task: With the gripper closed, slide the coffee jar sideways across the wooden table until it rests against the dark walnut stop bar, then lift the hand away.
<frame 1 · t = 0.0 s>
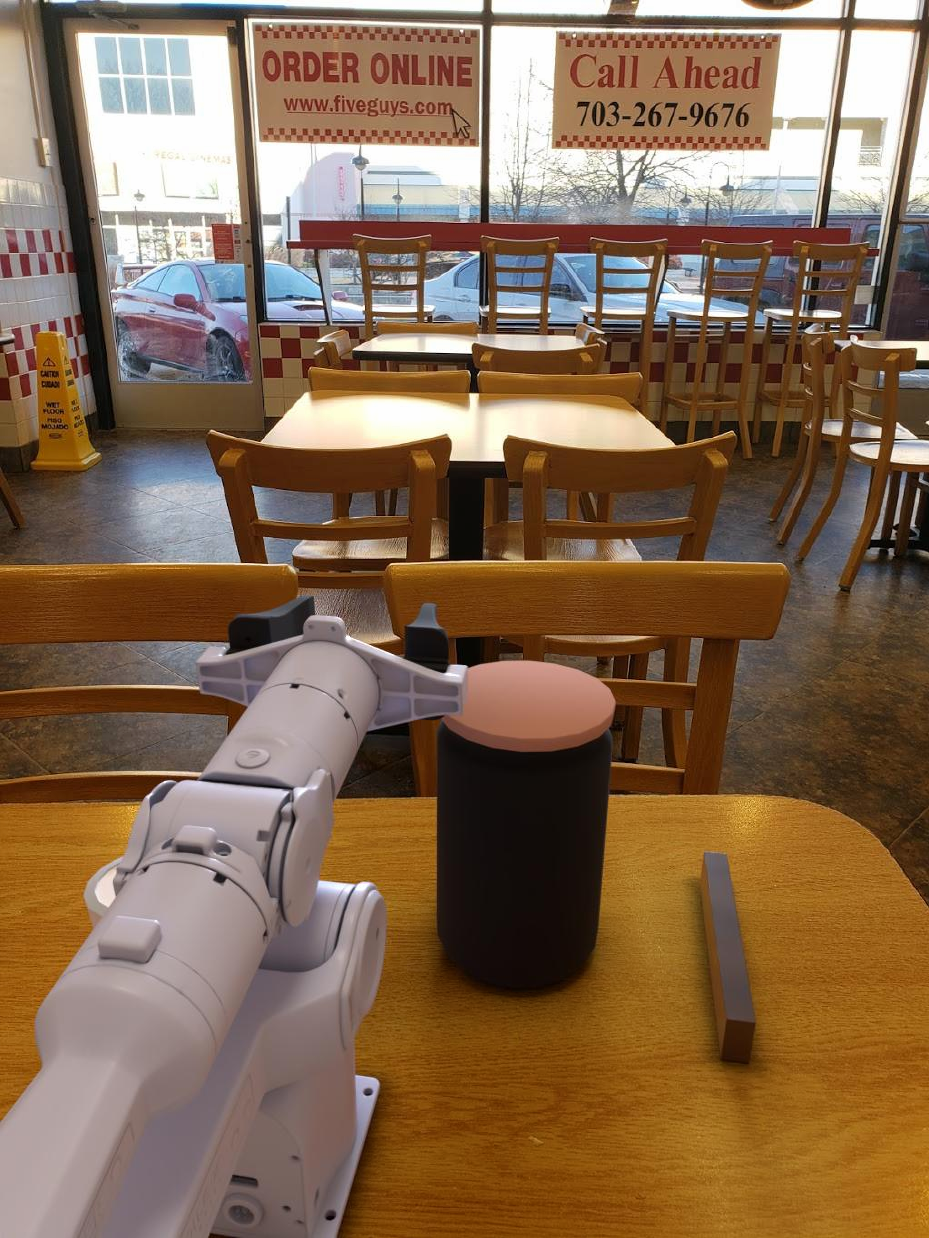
hand: (369, 613, 58), 22 cm above the table, tool horizontal, fingers open, 7 cm apart
stop bar: (721, 963, 61), on the table
coffee jar: (516, 941, 62), on the table
white cup: (156, 975, 59), on the table
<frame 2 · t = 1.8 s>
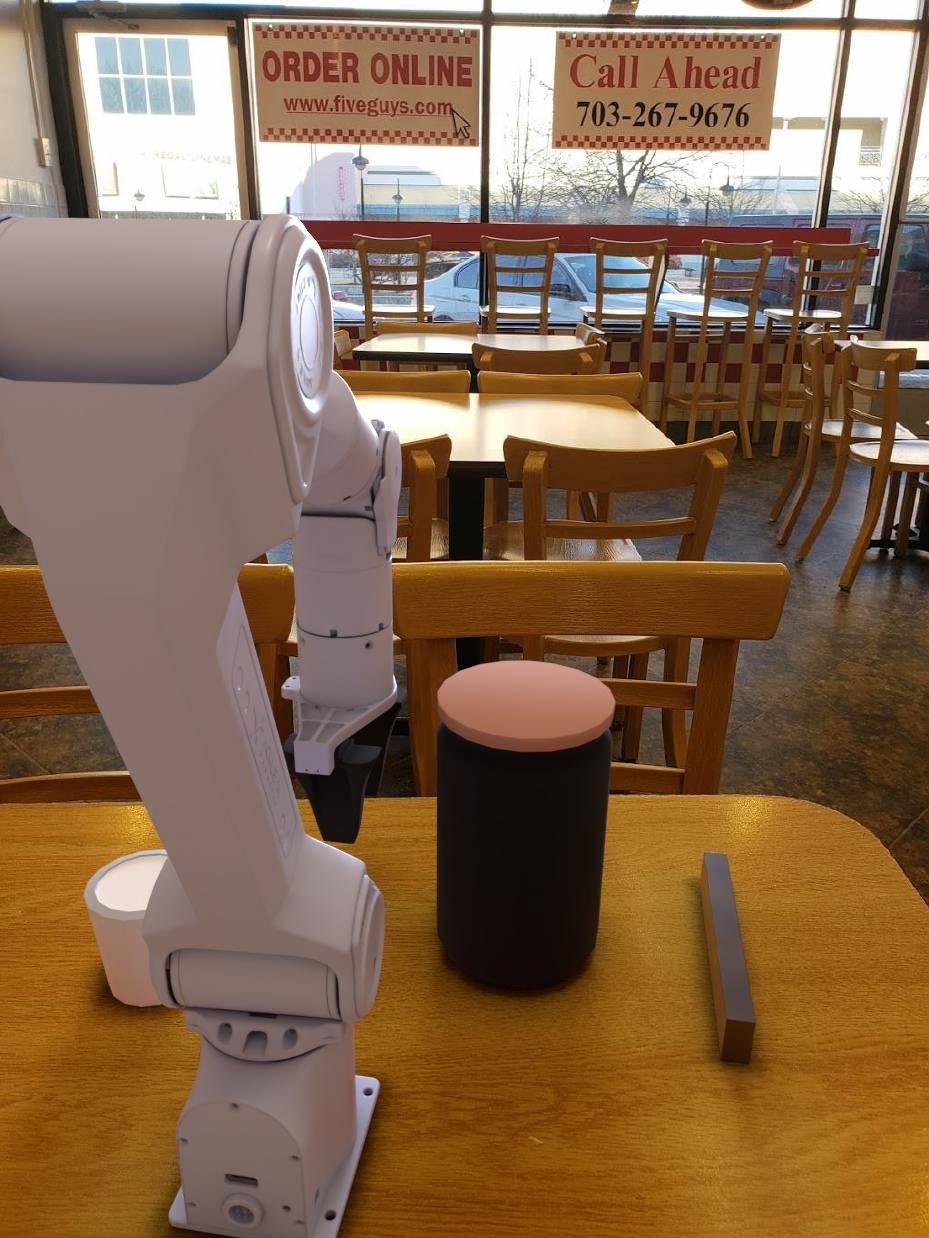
hand: (351, 815, 61), 8 cm above the table, tool pointing down, fingers open, 5 cm apart
nothing on the table moved.
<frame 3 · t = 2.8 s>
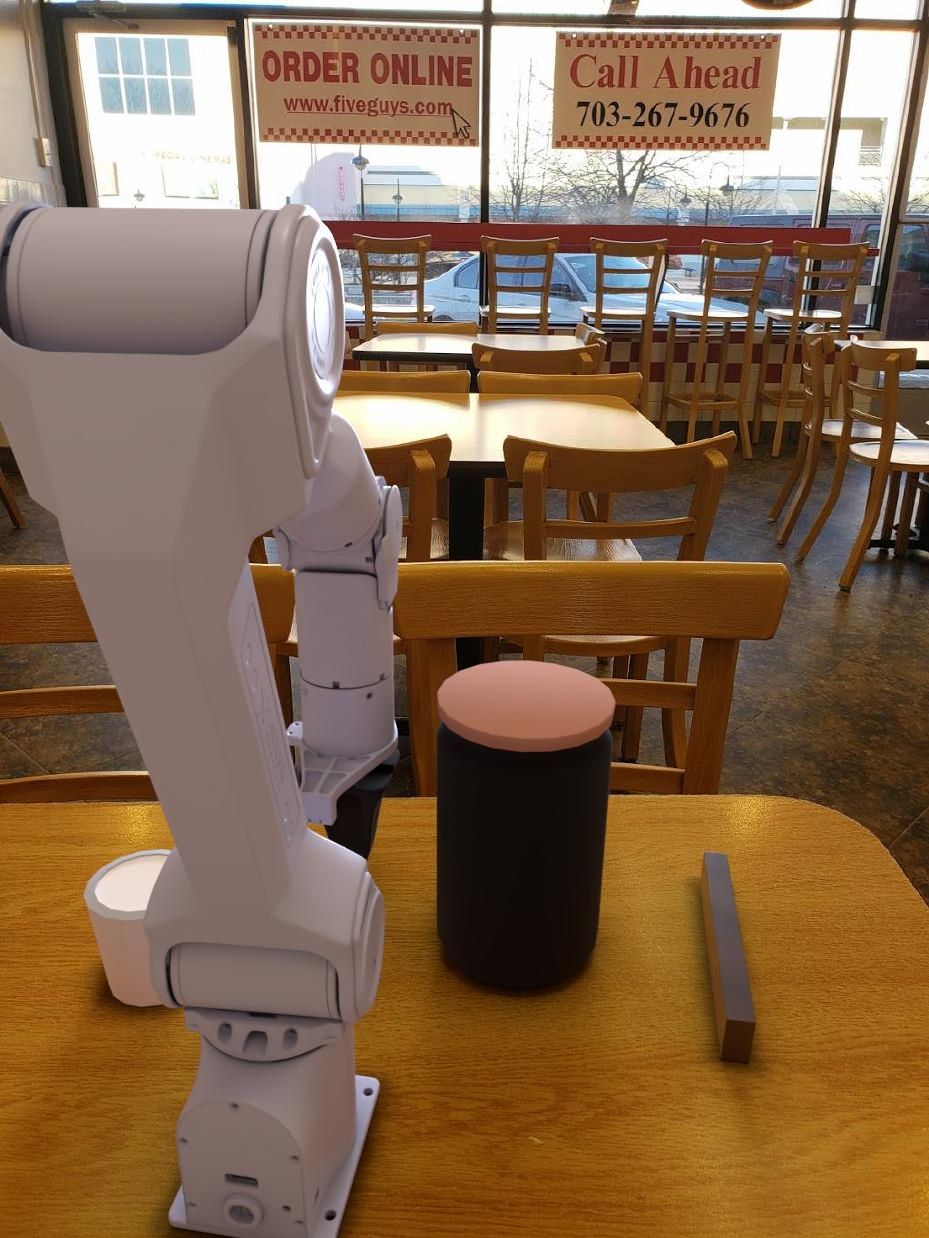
hand: (353, 856, 62), 5 cm above the table, tool pointing down, fingers closed
nothing on the table moved.
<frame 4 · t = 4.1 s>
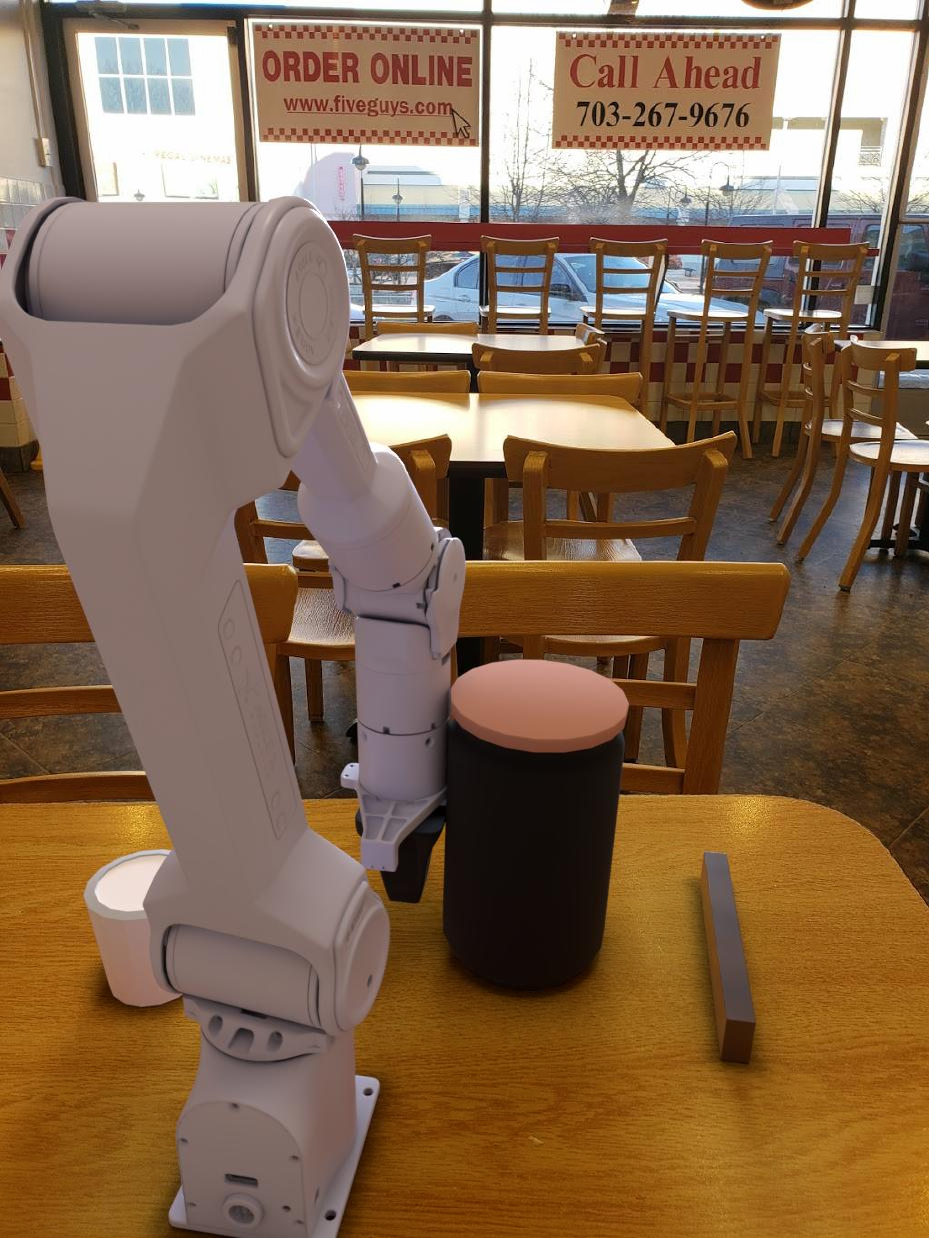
hand: (405, 895, 63), 2 cm above the table, tool pointing down, fingers closed, pressing on coffee jar
coffee jar: (521, 940, 62), on the table, touching arm, gripper
everything else where it was.
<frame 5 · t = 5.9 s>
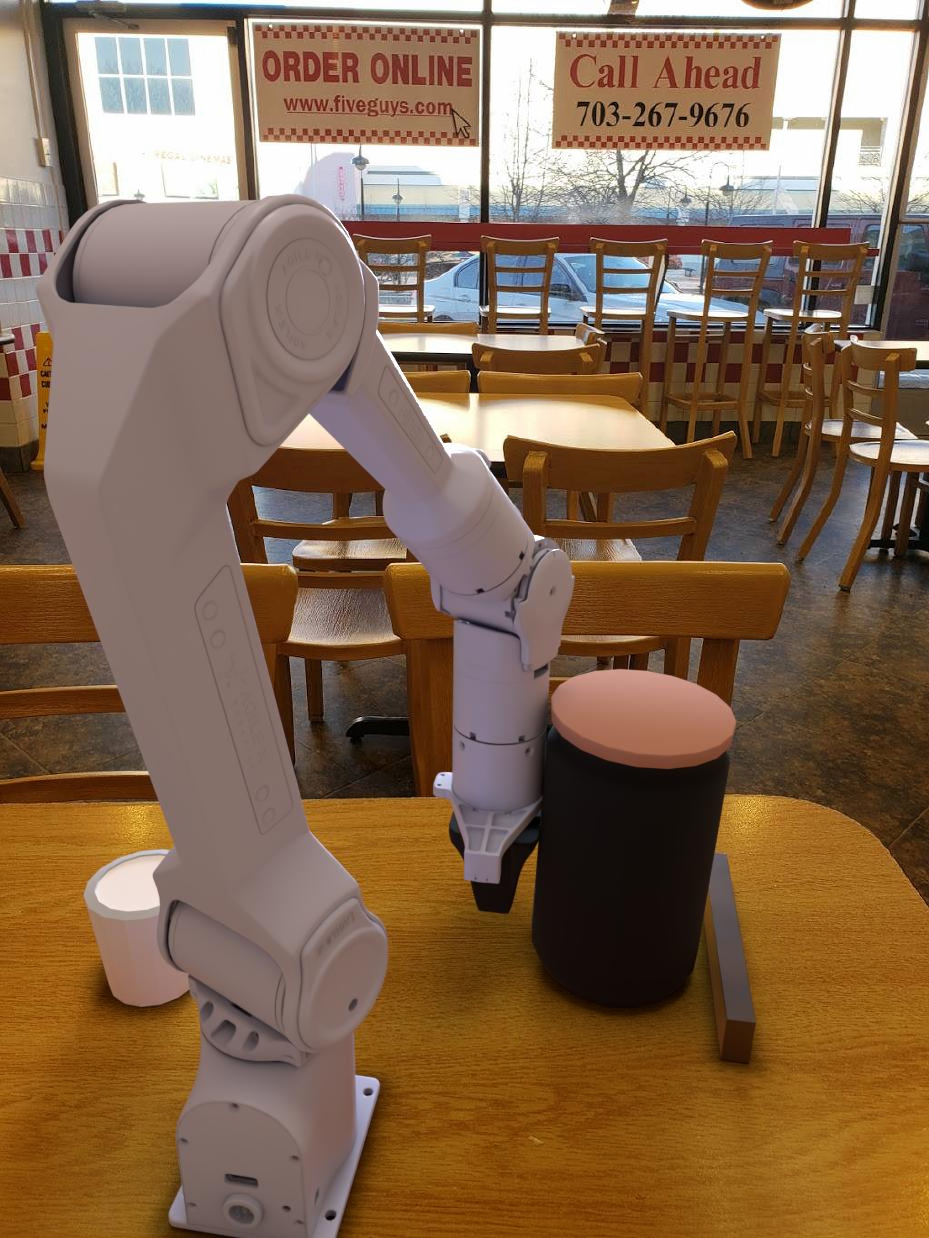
hand: (494, 906, 62), 2 cm above the table, tool pointing down, fingers closed
coffee jar: (610, 955, 61), on the table, touching arm, gripper
everything else where it was.
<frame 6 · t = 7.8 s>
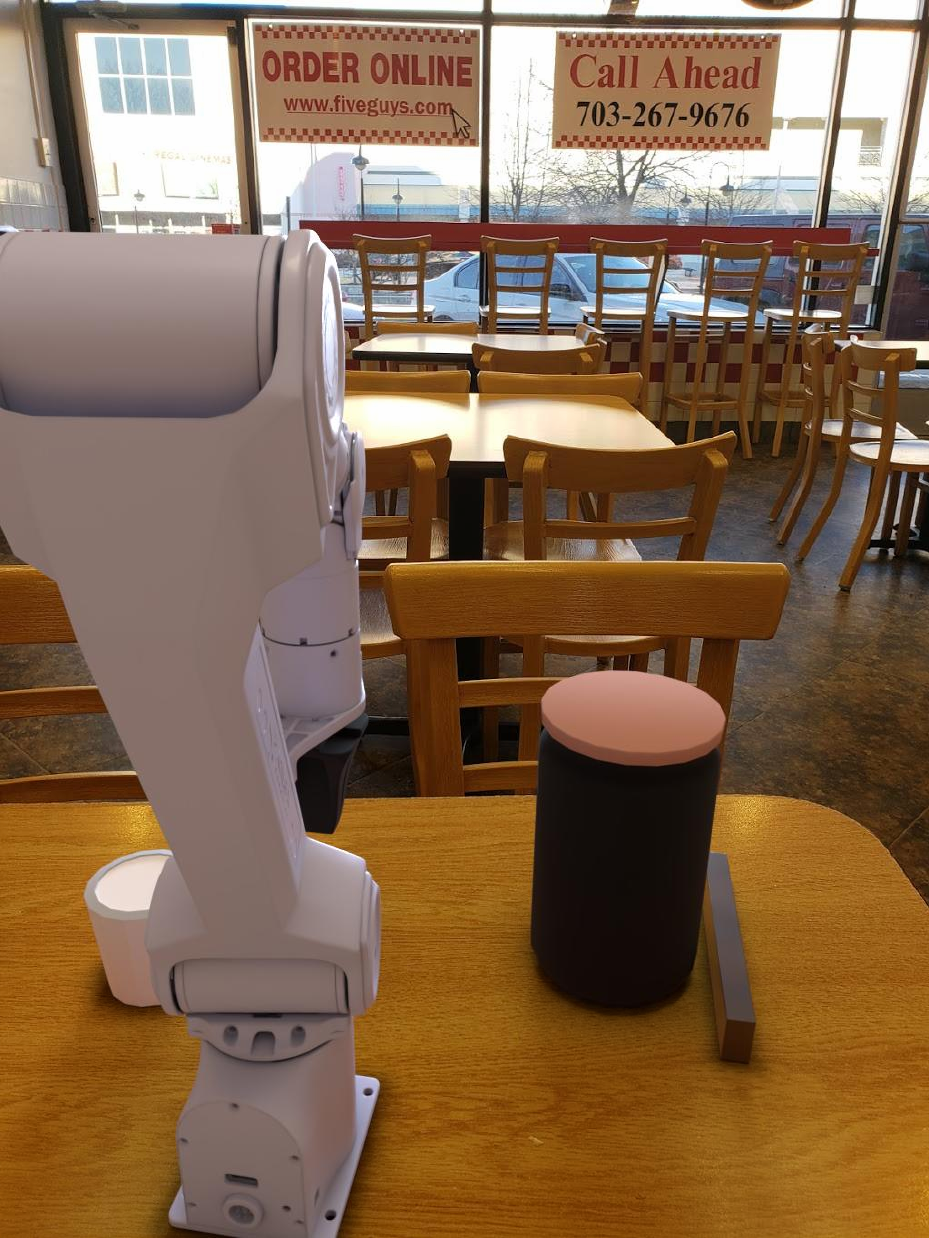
hand: (320, 827, 60), 8 cm above the table, tool pointing down, fingers closed
coffee jar: (610, 957, 61), on the table
everything else where it was.
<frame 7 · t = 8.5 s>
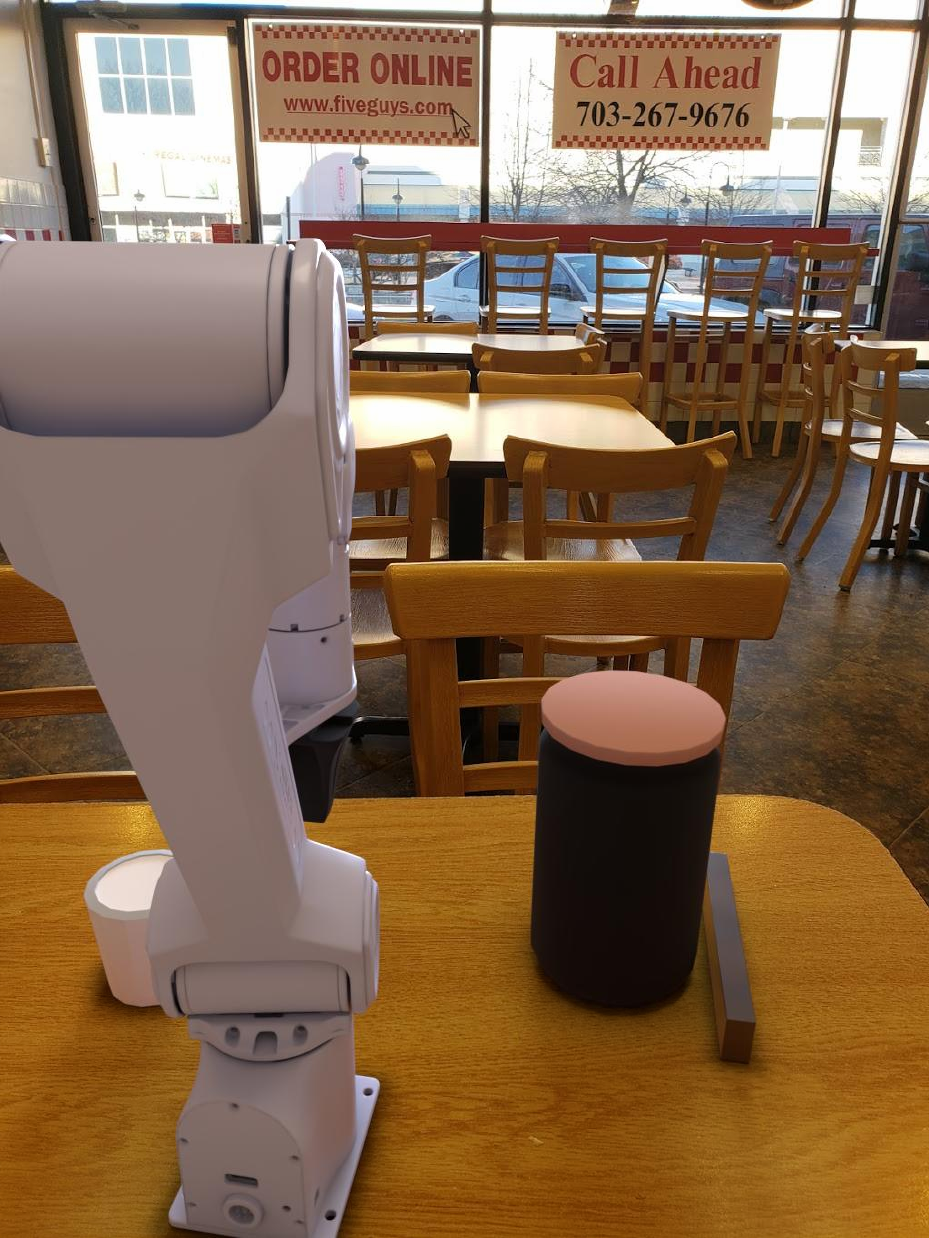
hand: (311, 816, 59), 9 cm above the table, tool pointing down, fingers closed
nothing on the table moved.
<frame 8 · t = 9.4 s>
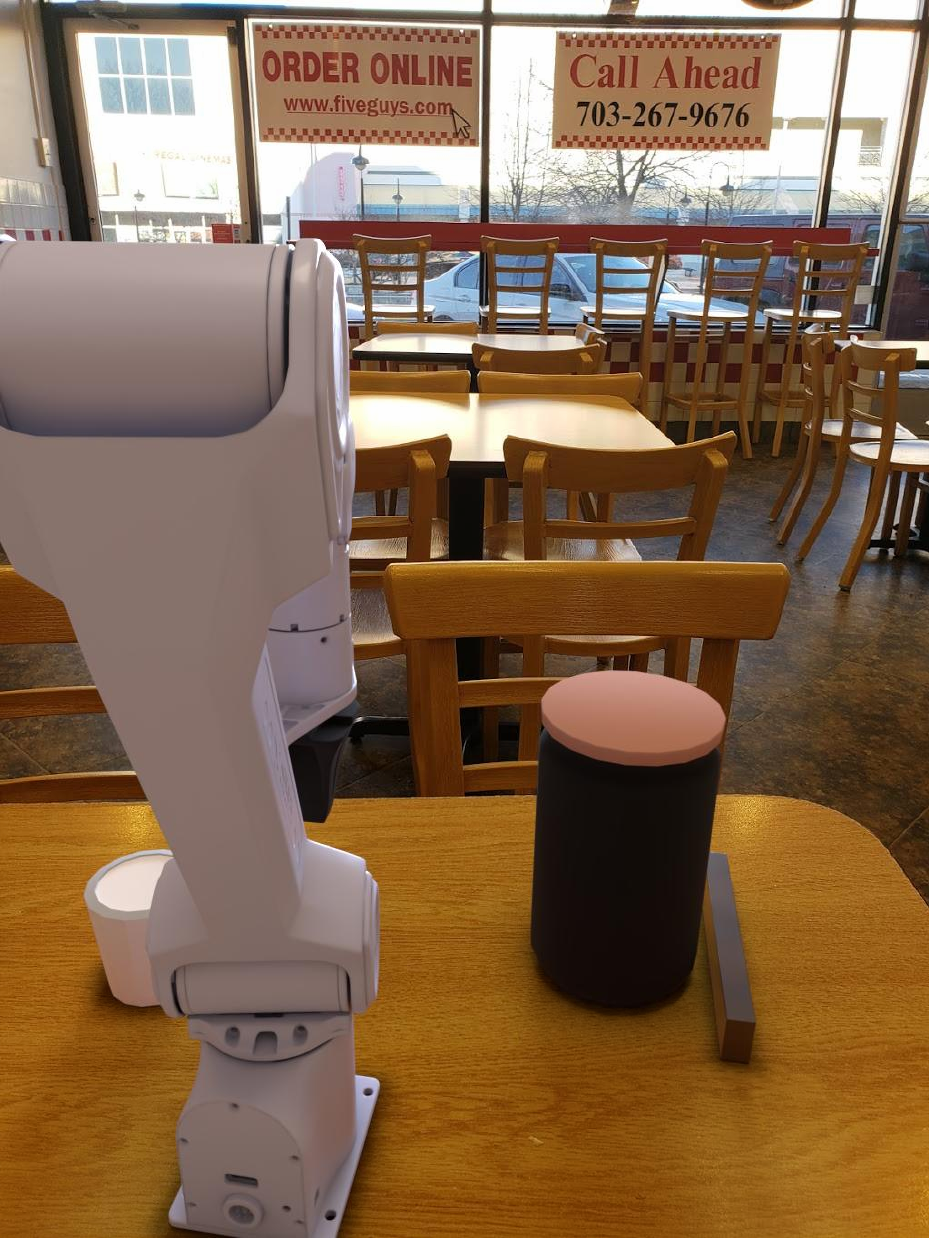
hand: (311, 816, 59), 9 cm above the table, tool pointing down, fingers closed
nothing on the table moved.
at the end: coffee jar 0.9 cm from the target spot, on the table; coffee jar tilted 0°; coffee jar moved 6.3 cm from its start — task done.
